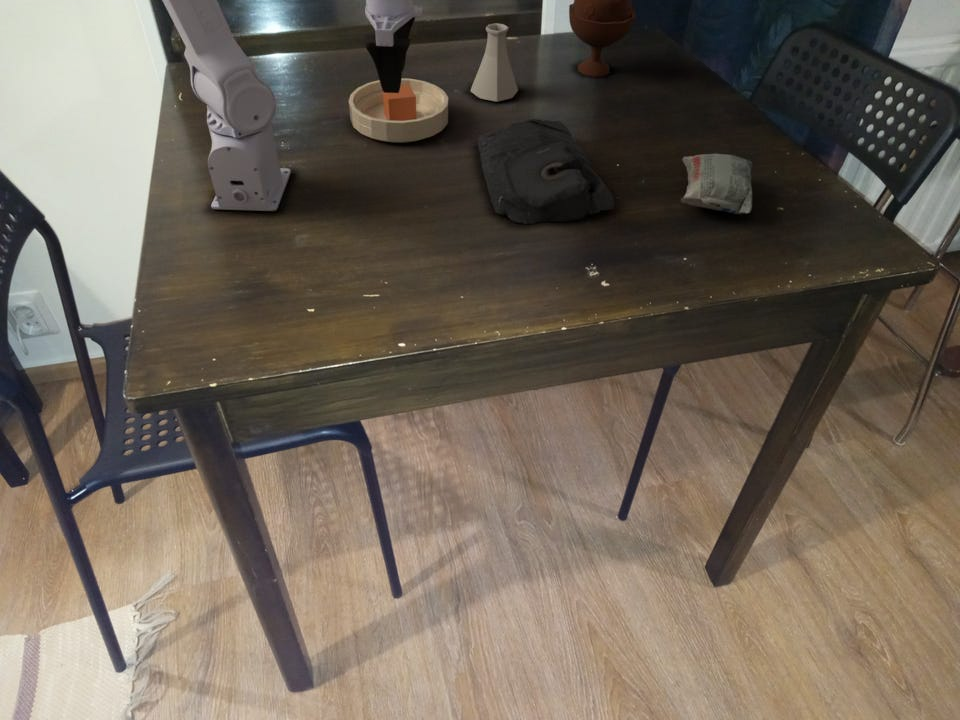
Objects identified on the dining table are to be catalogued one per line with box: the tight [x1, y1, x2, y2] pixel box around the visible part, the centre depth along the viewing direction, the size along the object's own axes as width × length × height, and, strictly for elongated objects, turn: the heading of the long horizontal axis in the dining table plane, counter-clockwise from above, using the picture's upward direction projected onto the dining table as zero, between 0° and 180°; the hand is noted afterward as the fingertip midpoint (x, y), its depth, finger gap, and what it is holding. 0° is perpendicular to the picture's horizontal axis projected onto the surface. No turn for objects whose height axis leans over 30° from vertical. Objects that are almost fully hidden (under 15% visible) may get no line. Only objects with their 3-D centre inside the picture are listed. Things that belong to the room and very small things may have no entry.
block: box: [383, 85, 417, 121], centre depth 101 cm, size 4×4×4 cm
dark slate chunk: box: [477, 118, 616, 225], centre depth 92 cm, size 15×22×5 cm
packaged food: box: [680, 153, 753, 215], centre depth 89 cm, size 9×12×5 cm
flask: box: [469, 22, 519, 103], centre depth 107 cm, size 7×7×10 cm
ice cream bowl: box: [568, 0, 637, 78], centre depth 113 cm, size 11×11×15 cm
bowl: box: [348, 77, 449, 143], centre depth 102 cm, size 14×14×4 cm
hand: (393, 80), depth 93 cm, fingers open, 6 cm apart
